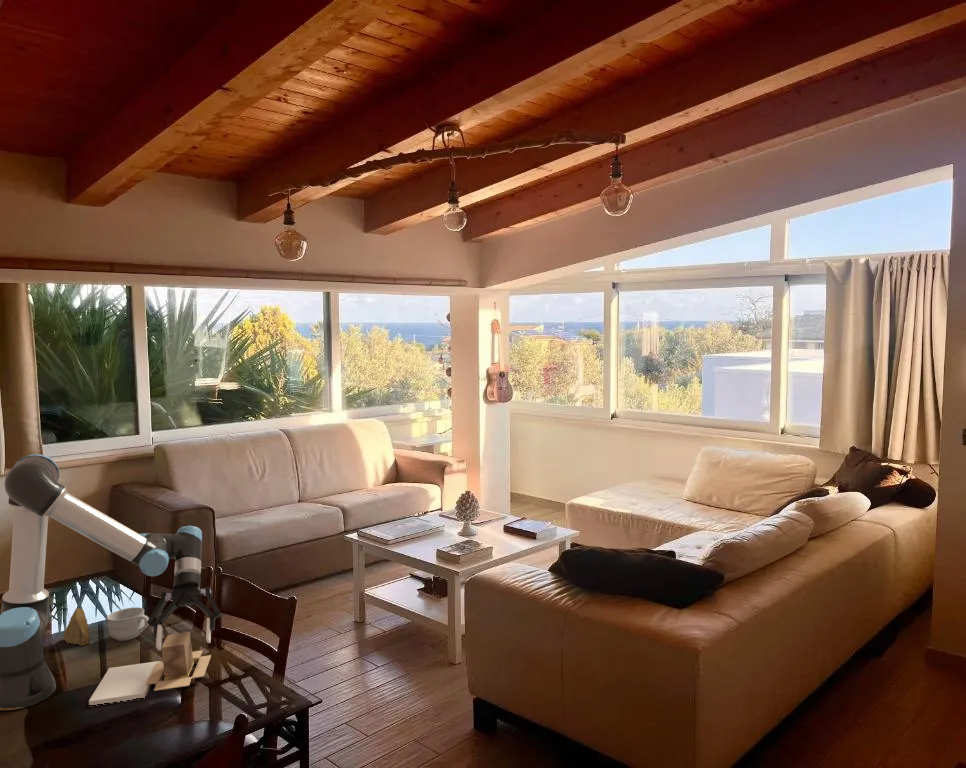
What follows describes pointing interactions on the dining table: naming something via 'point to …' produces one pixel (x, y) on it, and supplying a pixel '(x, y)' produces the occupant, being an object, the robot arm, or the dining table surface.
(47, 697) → the robot arm
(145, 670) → the board
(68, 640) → the rock
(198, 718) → the dining table surface
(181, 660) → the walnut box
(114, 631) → the teacup
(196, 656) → the carton
